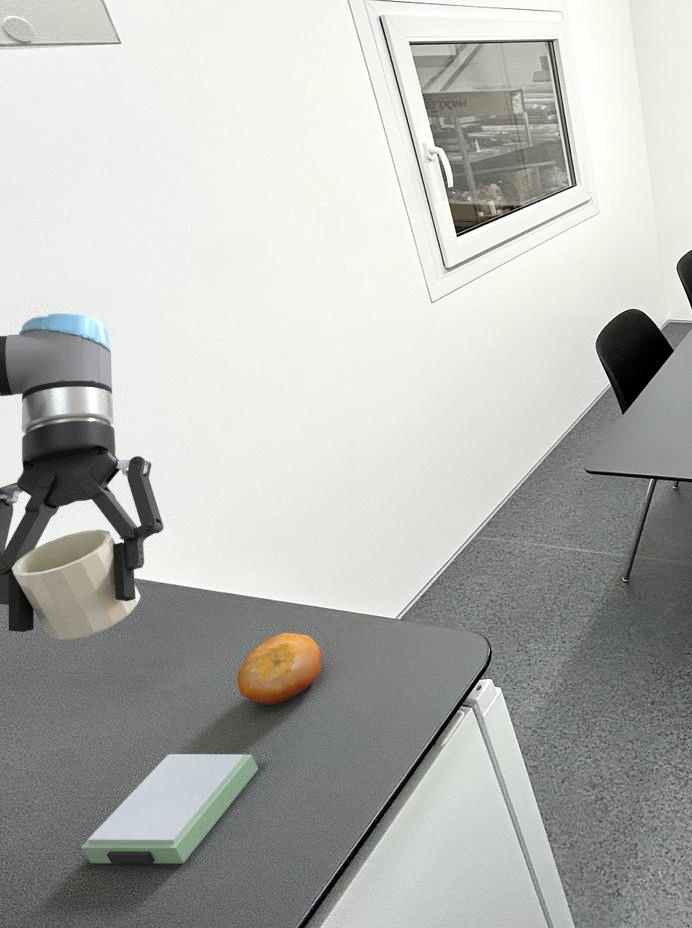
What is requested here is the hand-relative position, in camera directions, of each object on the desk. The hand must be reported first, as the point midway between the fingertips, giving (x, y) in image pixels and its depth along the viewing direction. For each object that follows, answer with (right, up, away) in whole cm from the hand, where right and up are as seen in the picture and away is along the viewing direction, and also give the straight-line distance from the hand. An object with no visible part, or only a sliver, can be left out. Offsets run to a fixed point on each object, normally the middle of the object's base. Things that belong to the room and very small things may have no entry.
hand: (75, 613), depth 71 cm
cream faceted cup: (-2, -2, +4) cm, 5 cm away
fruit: (+18, -14, +9) cm, 24 cm away
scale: (+17, -19, -5) cm, 26 cm away
